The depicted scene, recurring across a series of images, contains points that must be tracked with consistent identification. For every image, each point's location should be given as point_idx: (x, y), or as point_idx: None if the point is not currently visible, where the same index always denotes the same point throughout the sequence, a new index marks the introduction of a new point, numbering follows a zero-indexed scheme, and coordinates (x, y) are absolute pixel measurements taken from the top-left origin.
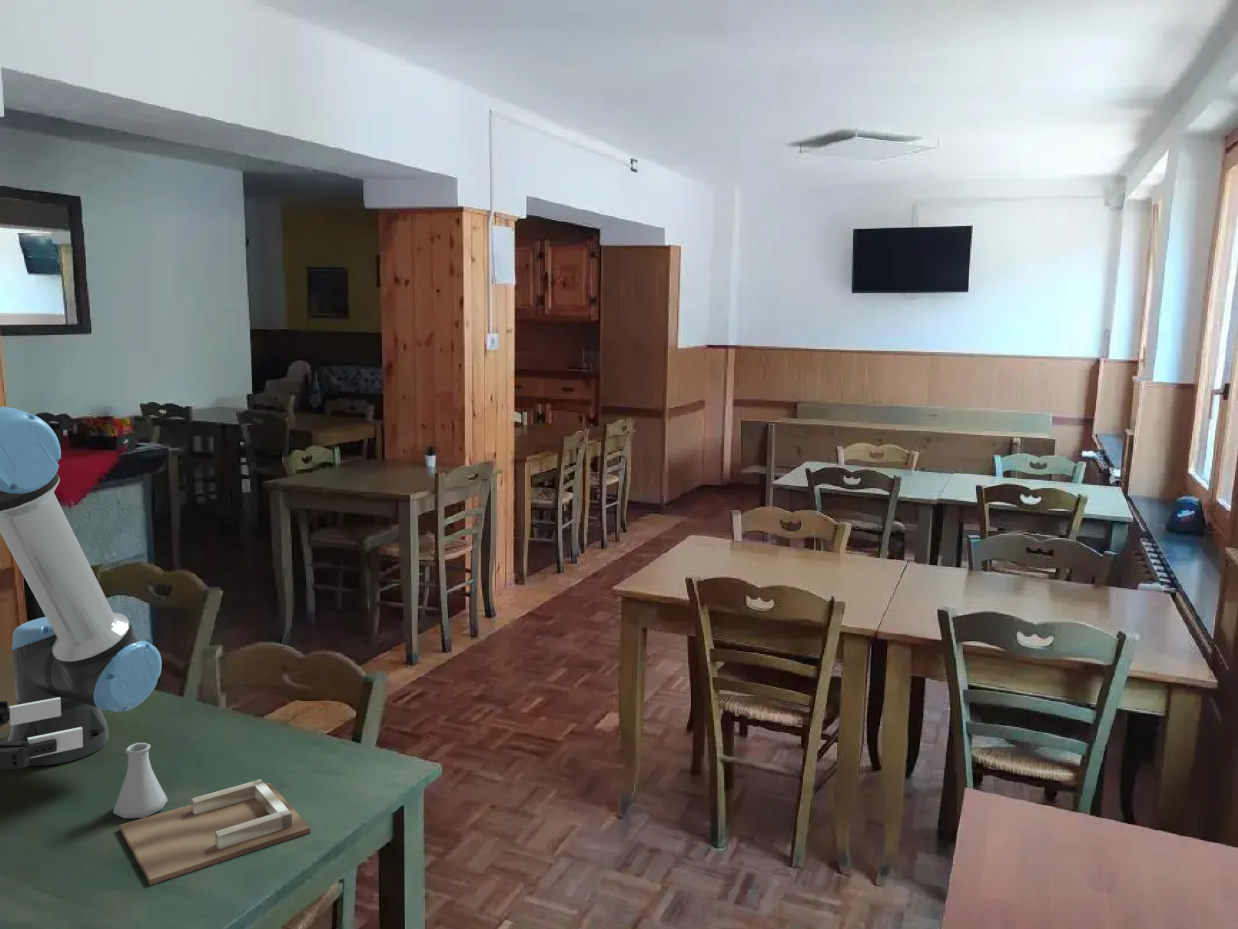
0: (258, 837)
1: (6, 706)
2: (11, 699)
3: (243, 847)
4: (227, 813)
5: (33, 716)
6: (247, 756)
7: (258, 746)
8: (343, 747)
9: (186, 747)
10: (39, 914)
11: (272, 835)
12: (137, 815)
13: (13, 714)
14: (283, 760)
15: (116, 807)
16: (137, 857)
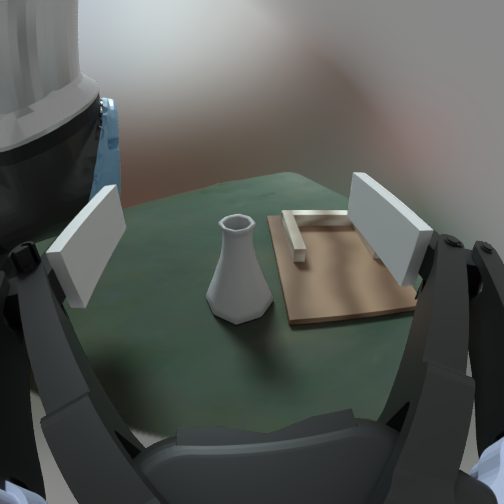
0: None
1: (39, 256)
2: None
3: None
4: (314, 243)
5: (101, 251)
6: (190, 220)
7: (177, 213)
8: (228, 186)
9: (125, 247)
10: None
11: None
12: (269, 302)
13: (74, 269)
14: (220, 207)
15: (240, 315)
16: (379, 311)
